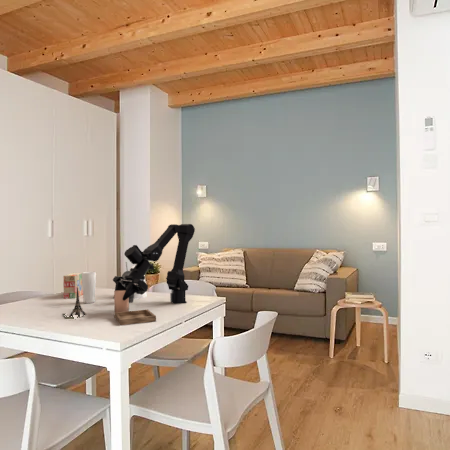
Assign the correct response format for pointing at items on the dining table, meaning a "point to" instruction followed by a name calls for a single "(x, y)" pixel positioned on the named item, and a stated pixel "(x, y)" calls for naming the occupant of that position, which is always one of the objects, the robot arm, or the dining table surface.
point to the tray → (134, 317)
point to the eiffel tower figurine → (76, 308)
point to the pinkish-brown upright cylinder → (120, 301)
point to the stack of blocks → (72, 285)
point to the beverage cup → (127, 286)
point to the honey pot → (139, 294)
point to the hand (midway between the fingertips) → (118, 299)
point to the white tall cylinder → (88, 286)
